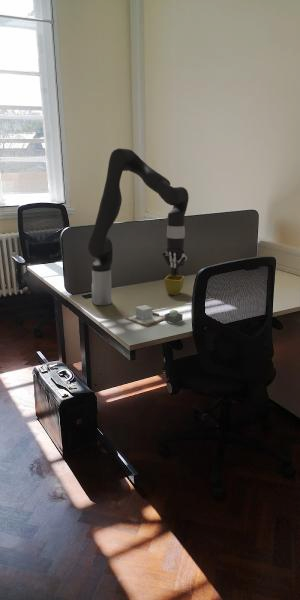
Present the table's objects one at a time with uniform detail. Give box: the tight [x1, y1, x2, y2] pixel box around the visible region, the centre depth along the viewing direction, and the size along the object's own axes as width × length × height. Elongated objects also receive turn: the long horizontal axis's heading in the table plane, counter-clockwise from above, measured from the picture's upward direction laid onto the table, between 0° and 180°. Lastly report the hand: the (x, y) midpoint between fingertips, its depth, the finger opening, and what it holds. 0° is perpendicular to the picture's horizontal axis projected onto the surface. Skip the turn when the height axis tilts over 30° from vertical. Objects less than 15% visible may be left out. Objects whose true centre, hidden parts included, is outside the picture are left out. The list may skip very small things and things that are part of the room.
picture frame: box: [124, 311, 165, 328], centre depth 196 cm, size 14×13×1 cm
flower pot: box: [163, 274, 185, 296], centre depth 230 cm, size 9×9×9 cm
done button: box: [169, 309, 179, 317], centre depth 193 cm, size 4×4×4 cm
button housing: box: [164, 312, 183, 324], centre depth 194 cm, size 6×6×3 cm
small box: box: [135, 304, 154, 320], centre depth 195 cm, size 6×6×5 cm
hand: (174, 275), depth 187 cm, fingers closed
